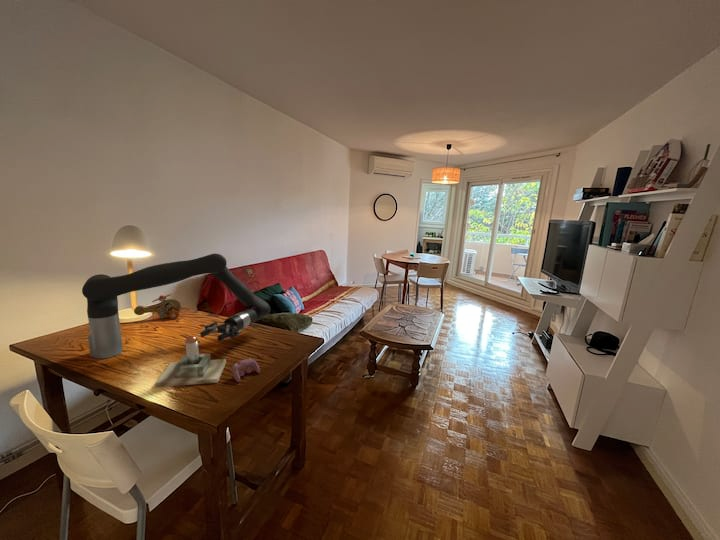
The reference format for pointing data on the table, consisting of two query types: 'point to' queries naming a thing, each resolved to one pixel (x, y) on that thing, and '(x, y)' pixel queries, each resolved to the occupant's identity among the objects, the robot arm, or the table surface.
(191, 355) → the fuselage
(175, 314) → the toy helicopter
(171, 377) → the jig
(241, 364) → the video game controller
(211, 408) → the table surface
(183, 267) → the robot arm
